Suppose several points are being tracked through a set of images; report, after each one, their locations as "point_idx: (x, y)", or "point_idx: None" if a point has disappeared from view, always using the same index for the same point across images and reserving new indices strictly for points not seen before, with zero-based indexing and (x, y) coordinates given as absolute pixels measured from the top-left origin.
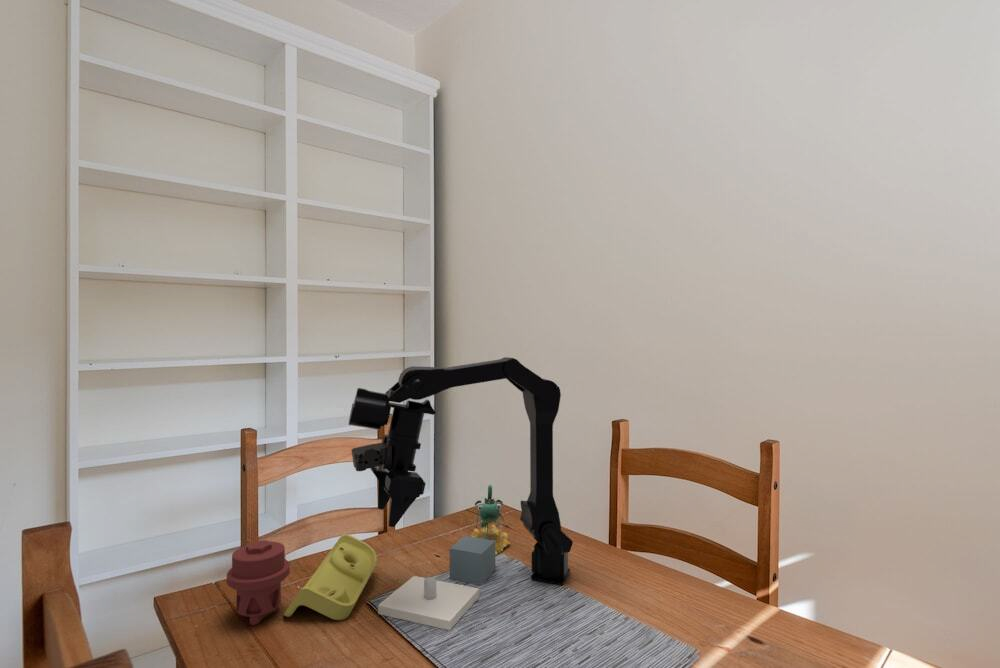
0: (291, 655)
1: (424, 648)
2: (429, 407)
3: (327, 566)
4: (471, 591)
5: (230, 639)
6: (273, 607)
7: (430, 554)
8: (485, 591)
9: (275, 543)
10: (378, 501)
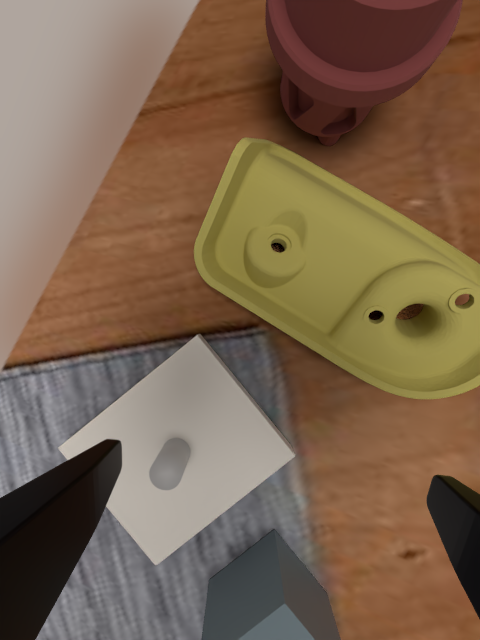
0: (134, 147)
1: (37, 374)
2: None
3: (401, 251)
4: (152, 544)
5: (249, 45)
6: (294, 114)
7: (426, 541)
8: (177, 572)
9: None
10: (477, 511)
